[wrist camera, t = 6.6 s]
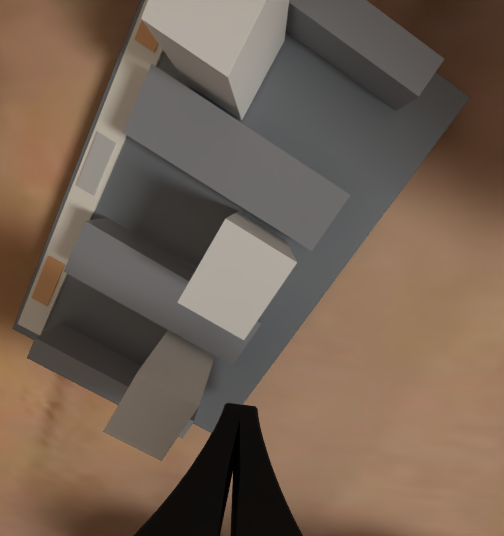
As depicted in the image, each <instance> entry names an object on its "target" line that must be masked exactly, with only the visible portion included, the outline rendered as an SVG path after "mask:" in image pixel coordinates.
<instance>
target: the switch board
mask: <svg viewBox="0 0 504 536" xmlns="http://www.w3.org/2000/svg"><path fill="white" fill-rule="evenodd" d="M147 2H148V0H141V1H140V3H139V6H138V8H137V11H136V14H135V16H134V19H133V21H132V24H131V26H130V29H129V31H128V34H127V37H126V39H125V42H124V44H123V47H122V49H121V52H120V55H119V57H118V60H117V62H116V65H115V67H114V70H113V72H112V75H111V78H110V80H109V83H108V85H107V88H106V90H105V93H104V96H103V98H102V101H101V103H100V106H99V108H98V111H97V114H96V116H95V119H94V121H93V124H92V126H91V129H90V131H89V134H88V137H87V139H86V142H85V144H84V147H83V149H82V152H81V155H80V157H79V160H78V162H77V165H76V167H75V170H74V172H73V175H72V178H71V180H70V183H69V185H68V188H67V190H66V193H65V196H64V198H63V201H62V203H61V206H60V208H59V211H58V214H57V216H56V219H55V221H54V224H53V226H52V229H51V231H50V234H49V237H48V239H47V242H46V244H45V247H44V249H43V252H42V255H41V257H40V260H39V262H38V265H37V267H36V270H35V272H34V275H33V278H32V280H31V283H30V285H29V288H28V290H27V293H26V296H25V298H24V301H23V303H22V306H21V308H20V311H19V314H18V316H17V319H16V321H15V324H14V326H13V329H14V330H16V331H18V332H20V333H22V334H24V335H26V336H28V337H30V338H31V339H33V340H34V342H33V345H32V347H31V350H30V352H29V354H28V357H27V358H28V359H30V360H32V361H34V362H36V363H38V364H40V365H41V366H43V367H45V368H47V369H49V370H51V371H53V372H55V373H57V374H59V375H61V376H63V377H65V378H67V379H69V380H71V381H72V382H74V383H76V384H78V385H80V386H82V387H84V388H86V389H88V390H90V391H92V392H94V393H96V394H98V395H100V396H102V397H103V398H105V399H107V400H109V401H111V402H113V403H115V404H117V405H119V403H120V401H121V400H122V398H123V396H124V394H125V393H126V391H127V389H128V387H129V386H130V384H131V382H132V381H133V379H134V377H135V375H136V374H137V372H138V371H139V369H140V368H141V366H142V365H143V364H144V362H145V361H146V360H147V358H148V357H149V355H150V354H151V353H152V351H153V350H154V349H155V347H156V346H157V344H158V343H159V342H160V340H161V339H162V338H163V336H164V335H165V334H166V332H167V331H168V330H169V331H171V332H173V333H175V334H176V335H178V336H180V337H182V338H184V339H185V340H187V341H189V342H191V343H193V344H194V345H196V346H198V347H200V348H201V349H203V350H205V351H207V352H209V353H210V354H212V355H214V356H215V358H214V361H213V364H212V367H211V370H210V373H209V377H208V380H207V383H206V386H205V389H204V392H203V396H202V399H201V402H200V405H199V407H198V408H197V410H196V411H195V413H194V414H193V416H192V417H191V418H190V420H189V421H188V423H187V424H186V426H185V427H184V429H183V430H182V432H181V433H180V435H179V437H181V438H183V436H184V435H185V434H186V432H187V431H188V429H189V428H190V426H191V425H192V423H193V424H195V425H197V426H199V427H201V428H203V429H205V430H207V431H209V432H211V433H212V432H213V430H214V428H215V426H216V424H217V422H218V420H219V418H220V416H221V414H222V411H223V408H224V405H225V404H226V403H234V404H241V405H242V404H243V403H244V402H245V400H246V399H247V398H248V396H249V395H250V394H251V392H252V391H253V390H254V388H255V387H256V385H257V384H258V383H259V381H260V380H261V379H262V377H263V376H264V375H265V373H266V372H267V371H268V369H269V368H270V367H271V365H272V364H273V363H274V361H275V360H276V359H277V357H278V356H279V354H280V353H281V352H282V350H283V349H284V348H285V346H286V345H287V344H288V342H289V341H290V340H291V338H292V337H293V336H294V334H295V333H296V332H297V330H298V329H299V328H300V326H301V325H302V323H303V322H304V321H305V319H306V318H307V317H308V315H309V314H310V313H311V311H312V310H313V309H314V307H315V306H316V305H317V303H318V302H319V301H320V299H321V298H322V297H323V295H324V294H325V292H326V291H327V290H328V288H329V287H330V286H331V284H332V283H333V282H334V280H335V279H336V278H337V276H338V275H339V274H340V272H341V271H342V270H343V268H344V267H345V266H346V264H347V263H348V261H349V260H350V259H351V257H352V256H353V255H354V253H355V252H356V251H357V249H358V248H359V247H360V245H361V244H362V243H363V241H364V240H365V239H366V237H367V236H368V235H369V233H370V232H371V230H372V229H373V228H374V226H375V225H376V224H377V222H378V221H379V220H380V218H381V217H382V216H383V214H384V213H385V212H386V210H387V209H388V208H389V206H390V205H391V204H392V202H393V201H394V199H395V198H396V197H397V195H398V194H399V193H400V191H401V190H402V189H403V187H404V186H405V185H406V183H407V182H408V181H409V179H410V178H411V177H412V175H413V174H414V173H415V171H416V170H417V168H418V167H419V166H420V164H421V163H422V162H423V160H424V159H425V158H426V156H427V155H428V154H429V152H430V151H431V150H432V148H433V147H434V146H435V144H436V143H437V142H438V140H439V139H440V137H441V136H442V135H443V133H444V132H445V131H446V129H447V128H448V127H449V125H450V124H451V123H452V121H453V120H454V119H455V117H456V116H457V115H458V113H459V112H460V111H461V109H462V108H463V106H464V105H465V104H466V102H467V101H468V100H469V98H470V97H469V96H468V95H466V94H465V93H464V92H462V91H461V90H460V89H458V88H457V87H456V86H454V85H453V84H452V83H450V82H449V81H448V80H446V79H445V78H444V77H442V76H441V75H440V74H438V73H437V72H436V71H437V69H438V68H439V66H440V65H441V64H442V62H443V61H444V58H443V57H441V56H440V55H439V54H437V53H436V52H435V51H433V50H432V49H431V48H429V47H428V46H427V45H425V44H424V43H423V42H421V41H420V40H419V39H417V38H416V37H415V36H413V35H412V34H411V33H409V32H408V31H407V30H405V29H404V28H403V27H401V26H400V25H399V24H398V23H396V22H395V21H394V20H392V19H391V18H390V17H388V16H387V15H386V14H384V13H383V12H382V11H380V10H379V9H378V8H376V7H375V6H374V5H372V4H371V3H370V2H368V1H367V0H289V6H288V15H287V23H286V31H285V40H284V43H283V44H282V46H281V48H280V50H279V52H278V54H277V56H276V58H275V59H274V61H273V63H272V65H271V67H270V69H269V71H268V72H267V74H266V76H265V78H264V80H263V82H262V84H261V86H260V87H259V89H258V91H257V93H256V95H255V97H254V99H253V101H252V102H251V104H250V106H249V108H248V110H247V112H246V114H245V115H244V117H243V119H242V120H240V119H239V118H237V117H236V116H234V115H232V114H231V113H229V112H228V111H226V110H225V109H223V108H222V107H220V106H219V105H217V104H216V103H214V102H213V101H211V100H210V99H208V98H207V97H205V96H204V95H202V94H201V93H199V92H198V91H196V90H195V89H193V88H192V87H190V86H189V85H187V83H186V82H185V80H184V79H183V78H182V76H181V75H180V73H179V72H178V70H177V69H176V68H175V66H174V65H173V63H172V62H171V61H170V59H169V58H168V56H167V55H166V53H165V52H164V51H163V49H162V48H161V46H160V45H159V43H158V42H157V41H156V39H155V38H154V36H153V35H152V34H151V32H150V31H149V29H148V28H147V26H146V25H145V24H144V22H143V21H142V19H141V17H142V15H143V12H144V10H145V7H146V5H147ZM238 211H240V212H242V213H243V214H245V215H247V216H248V217H250V218H251V219H253V220H255V221H256V222H258V223H259V224H261V225H263V226H264V227H266V228H267V229H269V230H271V231H272V232H274V233H275V234H277V235H279V236H280V237H282V238H283V239H285V240H287V242H288V244H289V246H290V248H291V250H292V253H293V255H294V257H295V259H296V261H297V264H296V265H295V267H294V268H293V269H292V271H291V272H290V274H289V275H288V277H287V278H286V280H285V281H284V283H283V284H282V286H281V287H280V288H279V290H278V291H277V293H276V294H275V296H274V297H273V299H272V300H271V302H270V303H269V305H268V306H267V307H266V309H265V310H264V312H263V313H262V315H261V316H260V318H259V319H258V321H257V322H256V324H255V325H254V326H253V328H252V329H251V331H250V332H249V334H248V335H247V337H246V338H245V340H242V339H241V338H239V337H237V336H235V335H234V334H232V333H230V332H228V331H227V330H225V329H223V328H221V327H220V326H218V325H216V324H214V323H213V322H211V321H209V320H207V319H206V318H204V317H202V316H200V315H199V314H197V313H195V312H193V311H192V310H190V309H188V308H186V307H184V306H183V305H181V304H179V303H177V302H178V300H179V299H180V297H181V295H182V293H183V292H184V290H185V288H186V286H187V285H188V283H189V281H190V280H191V278H192V276H193V274H194V273H195V271H196V269H197V267H198V266H199V264H200V262H201V260H202V259H203V257H204V255H205V253H206V252H207V250H208V248H209V246H210V245H211V243H212V241H213V239H214V238H215V236H216V234H217V232H218V231H219V229H220V227H221V226H222V224H223V222H224V220H225V219H226V218H227V217H229V216H231V215H233V214H234V213H236V212H238Z"/></svg>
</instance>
